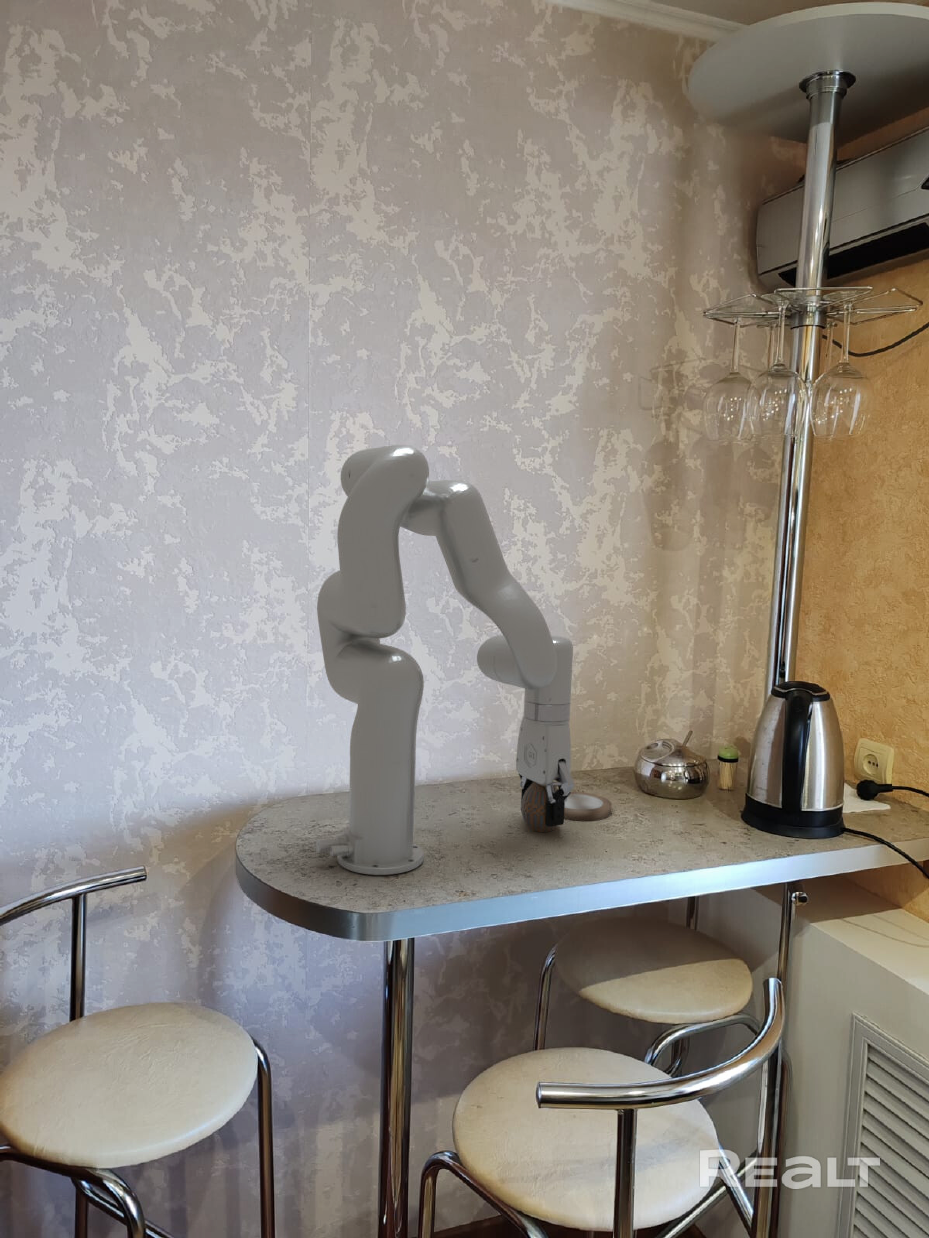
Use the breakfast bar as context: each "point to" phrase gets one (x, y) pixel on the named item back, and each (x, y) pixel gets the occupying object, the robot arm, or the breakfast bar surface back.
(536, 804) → the vase
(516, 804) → the breakfast bar surface
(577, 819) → the stand
